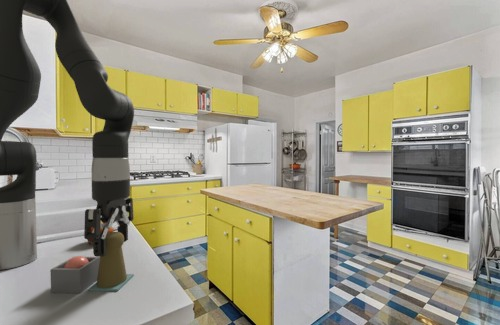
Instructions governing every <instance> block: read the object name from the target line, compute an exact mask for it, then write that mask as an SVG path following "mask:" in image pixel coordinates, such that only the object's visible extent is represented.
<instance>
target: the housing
mask: <svg viewBox="0 0 500 325" xmlns="http://www.w3.org/2000/svg"><path fill="white" fill-rule="evenodd" d="M84 257H85V258H87V259H88V261H89V263H87V264H86V265H84V266H82V267H81V268H64V266H65V264H66V263H67V261H68V260H70V259H71V258H69V259H68V260H65V261H64V262H62V263H60V264H58V265H56V266H54V267H52V268H51V269H50V293H51V294H82V292H84V291H85V290H87V289H89V288H90V287H91V286H93V285H94V284H95V283H96V282H97V277H98V269H99V262H100V257H96V256H84Z"/></svg>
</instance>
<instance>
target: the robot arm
mask: <svg viewBox="0 0 500 325" xmlns="http://www.w3.org/2000/svg"><path fill="white" fill-rule="evenodd" d="M71 9H72V8H71V6H70V5H69V3H68V0H0V176H1V177H2V176H3V177H4V176H16V179H14V180H13V181H11V182H10V183H8V184H6V185H3V186H1V187H0V271H1V270H9V269H14V268H18V267H21V266H24V265H27V264H29V263H32V262H33V261H35V260H37V258H38V247H37V245H38V242H37V240H38V239H37V208H36V186H37V185H36V184H37V181H36V179H37V178H36V177H37V175H36V174H37V150H36V148H35V146H34V144H33V143H32V142H28V141H13V140H2V139H3V137H4V135H5V133H6V131H7V130H8V128H9V127H10V126H11V125H12V124H13V123H14V122H15V121H16V120H17V119H19V118H20V117H21V116H22V115H24V114H25V113H26V112H27V111H28V110H29V109H30V108H32V107H33V106H34V104H35V103H36V102H37V101H38V98H39V94H40V93H39V92H40V86H41V82H42V81H41V80H42V74H41V69H40V66H39V65H38V62H37V61H36V59H35V56H34V55H33V52H32V51H31V49H30V47H29V45H28V43H27V41H26V38H25V34H24V31H23V13H24V11H25V12H27V13H30V14H32V15H35V16H37V17H42V18H43V19H44V20H45V21H46V22H47V23H49V25H50V26H51V27H52V28H53V30H54V31H55V33H56V35H55V43H54V45H55V53H56V55H57V58H58V60H59V62H60V63H61V65H62V66H63V68H64V69H65V71H66V72H67V74H68V75H69V77H70V78H71V80H72V81H73V84H74V86H75V89H76V92H77V95H78V99H79V101H80V103H81V105H82V107H83V108H84V109H85V110H86V112H88V113H89V114H90V115H91V116H92V117H94V118H97V119H99V120H104V125H103V129H102V130H101V131H97V132H95V133H94V134H93V136H92V140H91V141H92V142H91V144H92V146H91V147H92V148H91V150H92V162H91V199H92V200H93V201H95V202H96V207H95V208H90V209H89V208H87V209H86V210H85V211H84V229H83V231H84V232H83V234H84V239H85V240H87V239H92V240H93V245H92V248H93V249H92V250H93V251H92V253H93V257H103V256H104V255H106V238H105V237H106V234H107V232H108V229H110V228H111V227H113V224H114V223H116V225H118V226H117V232H120V233H122V234H123V236H124V243H126V242H127V241H129V228H128V227H129V226H130V223H131V222H133V221H134V202H133V201H134V200H133V197H130V196H131V166H130V162H129V138H130V135H131V132H132V127H133V122H134V119H135V118H134V117H135V108H134V103H133V101H132V99H131V98H130V97H129V96H128V95H126V93H122V92H120V91H117V90H116V89H114V88H111V87H110V86H109V84H108V80H109V75H108V72H107V70H106V68H105V67H104V65H103V63H101V60H100V59H99V57H97V55H96V54H95V52H94V51H93V49H92V48H91V47H90V45H89V43H88V41H87V40H86V38H85V36H84V34H83V33H82V30H81V27H80V26H79V24H78V22H77V19H76V17H75V15H74V13H73V10H71ZM100 222H103V223H100ZM91 227H93V228H94V229H93V232H92V233H91ZM100 229H103V230H102V232H101V233H100Z"/></svg>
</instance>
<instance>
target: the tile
mask: <svg viewBox="0 0 500 325" xmlns="http://www.w3.org/2000/svg"><path fill="white" fill-rule="evenodd" d="M126 275H127V279H126V280H125V281H124V282H123V283H121V284H119V285H117V286H114V287H110V288H99V287H98V286H97V281H95V282H94V283H93V284H92V285H90V286H89V287H88V288H87V290H88V291H89V292H91V291H93V292H119V291H120V290H121V289H122V288H123V287H124V286H125V285H126V284H127V283H128V282H129V281H130V280H131V279H132V278H133V277H134V276H135V274H134V273H126Z"/></svg>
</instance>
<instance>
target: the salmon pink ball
mask: <svg viewBox="0 0 500 325" xmlns="http://www.w3.org/2000/svg"><path fill="white" fill-rule="evenodd" d="M85 257H86V256H83V255H77V256H72V257H71V258H69V259H70V260H69V259H68V261H67V260H66V261H67V263H66V264H65V266H64V268H81V267H82V266H84V265H86V264H87V263H89V261H88V259H87V258H85Z"/></svg>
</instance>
